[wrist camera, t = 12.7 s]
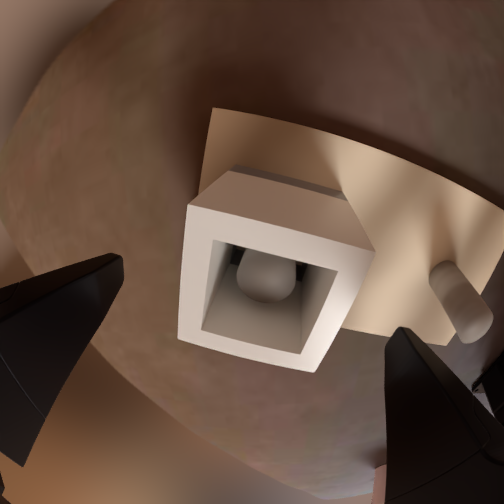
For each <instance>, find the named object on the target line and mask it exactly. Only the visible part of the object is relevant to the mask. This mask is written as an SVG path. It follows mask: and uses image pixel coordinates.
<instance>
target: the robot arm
mask: <svg viewBox="0 0 504 504" xmlns="http://www.w3.org/2000/svg"><path fill="white" fill-rule="evenodd" d="M123 281H124V268H123V258H122V257H121V256H120V255H117V254H114V253H108V254H105V255H101V256H98V257H95V258H91V259H88V260H85V261H82V262H78V263H75V264H72V265H69V266H66V267H62V268H59V269H56V270H53V271H50V272H47V273H44V274H41V275H38V276H35V277H32V278H30V279H26V280H23V281H21V282H20V283H19V282H17V283H14V284H11V285H9V286H6V287H3V288H0V452H2V453H3V454H4V455H6V456H7V457H9V458H10V459H11V460H12V461H14V462H15V463H17V464H18V465H20V466H21V467H23V466H24V465H25V463H26V460H27V457H28V456H29V453H30V451H31V449H32V446H33V444H34V442H35V440H36V438H37V436H38V434H39V432H40V429H41V427H42V426H43V424H44V422H45V418H46V417H47V415H48V413H49V411H50V410H51V408H52V405H53V404H54V402H55V400H56V398H57V396H58V394H59V393H60V391H61V389H62V387H63V385H64V384H65V382H66V380H67V378H68V377H69V375H70V373H71V371H72V370H73V368H74V366H75V365H76V363H77V361H78V360H79V358H80V356H81V355H82V353H83V351H84V350H85V348H86V347H87V345H88V343H89V342H90V340H91V339H92V337H93V336H94V334H95V332H96V331H97V329H98V328H99V326H100V325H101V323H102V321H103V320H104V318H105V316H106V314H107V312H108V311H109V309H110V307H111V305H112V303H113V301H114V299H115V297H116V295H117V293H118V292H119V290H120V288H121V286H122V284H123ZM384 391H385V409H386V437H387V460H386V487H385V502H384V504H504V352H503V354H502V355H501V356H500V357H499V359H498V360H497V361H496V362H495V363H494V365H493V366H492V367H491V368H490V369H489V370H488V372H487V373H486V374H485V375H484V376H483V377H482V378H481V379H480V380H479V382H478V383H477V384H476V385H475V386H474V387H473V388H472V392H473V393H485V394H486V397H487V399H488V402H489V405H490V407H491V410H492V413H493V414H494V416H493V415H492V414H491V413H490V412H489V411H488V410H487V409H486V408H485V407H484V406H483V405H482V404H481V402H480V401H479V400H478V399H477V398H476V397H475V396H474V395H473V394H472V392H471V391H470V390H469V389H468V388H467V387H466V386H465V385H464V384H463V382H462V381H461V380H460V379H459V378H458V377H457V376H456V375H455V374H454V373H453V372H452V371H451V370H450V368H449V367H448V366H447V365H446V364H445V363H444V362H443V361H442V360H441V359H440V358H439V357H438V356H437V355H436V354H435V353H434V352H433V351H432V350H431V349H430V348H429V347H428V346H427V345H426V344H425V343H424V342H423V341H422V340H421V339H420V338H419V337H418V336H417V335H416V334H415V333H414V332H413V331H412V330H411V329H410V328H408V327H402V326H399V327H398V328H397V329H396V330H395V331H394V333H393V335H392V336H391V338H390V339H389V341H388V342H387V344H386V346H385V381H384ZM494 417H495V418H494ZM4 488H5V487H4V484H3V480H2V477H1V473H0V504H11V503H10V502H8V501H7V500H6V499H5V498H4V497H3V496H2V493H3V491H4Z"/></svg>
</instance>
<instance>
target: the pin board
mask: <svg viewBox="0 0 504 504" xmlns="http://www.w3.org/2000/svg"><path fill="white" fill-rule="evenodd" d="M234 165H241V166H245V167H250V168H254V169H259V170H263V171H267V172H271V173H275V174H280V175H284V176H287V177H291V178H295V179H299V180H303V181H306V182H310V183H314V184H317V185H321V186H324V187H328V188H331V189H335V190H338V191H341V192H343V193H344V195H345V196H346V198H347V200H348V202H349V203H350V205H351V207H352V209H353V210H354V212H355V214H356V216H357V217H358V219H359V221H360V223H361V225H362V227H363V228H364V230H365V232H366V234H367V236H368V238H369V240H370V242H371V244H372V245H373V247H374V249H375V251H376V254H375V256H374V259H373V261H372V263H371V266H370V268H369V270H368V272H367V274H366V277H365V279H364V281H363V283H362V285H361V287H360V289H359V291H358V293H357V295H356V298H355V300H354V302H353V304H352V306H351V308H350V309H349V311H348V313H347V315H346V317H345V319H344V321H343V323H342V325H341V328H346V329H351V330H356V331H361V332H366V333H371V334H377V335H382V336H388V337H391V336H392V335H393V333H394V331H395V330H396V329H397V328H398V327H399V326H402V327H408V328H410V329H411V330H412V331H413V332H414V333H415V334H416V335H417V336H418V337H419V338H420V339H421V340H422V341H423V342H424V343H431V344H438V345H445V346H446V345H447V344H448V342H449V341H450V340H451V338H452V337H453V336H454V334H455V333H456V332H457V334H458V336H459V338H460V340H461V341H462V342H463V343H472V342H474V341H476V340H478V339H480V338H481V337H482V336H483V335H484V334H485V333H486V332H487V331H488V330H489V328H490V326H491V324H492V322H493V313H492V312H491V310H490V309H489V307H488V306H487V305H486V303H485V302H484V300H483V299H482V298H481V296H480V294H481V293H482V291H483V289H484V287H485V286H486V284H487V282H488V280H489V278H490V277H491V275H492V273H493V271H494V269H495V267H496V265H497V263H498V261H499V259H500V257H501V255H502V253H503V251H504V210H502V209H501V208H499V207H497V206H496V205H494V204H492V203H491V202H489V201H487V200H486V199H484V198H482V197H480V196H479V195H477V194H475V193H473V192H471V191H470V190H468V189H466V188H464V187H462V186H460V185H458V184H456V183H454V182H452V181H450V180H448V179H446V178H444V177H442V176H440V175H438V174H436V173H434V172H432V171H430V170H427V169H425V168H423V167H421V166H418V165H416V164H414V163H411V162H409V161H407V160H404V159H402V158H399V157H397V156H394V155H392V154H389V153H387V152H384V151H382V150H379V149H376V148H373V147H371V146H368V145H365V144H362V143H359V142H356V141H353V140H350V139H347V138H344V137H341V136H338V135H335V134H331V133H328V132H325V131H321V130H318V129H314V128H310V127H307V126H303V125H299V124H295V123H291V122H287V121H283V120H278V119H274V118H269V117H265V116H260V115H255V114H250V113H244V112H239V111H233V110H227V109H221V108H213V109H212V114H211V120H210V125H209V130H208V136H207V142H206V148H205V153H204V160H203V166H202V172H201V179H200V186H199V193H198V195H199V194H200V193H201V192H203V191H204V190H205V189H206V188H207V187H209V186H210V185H211V184H212V183H213V182H215V181H216V180H217V179H218V178H219V177H221V176H222V175H223V174H224V173H226V172H227V171H228V170H229V169H231V168H232V167H233V166H234ZM236 249H238V250H242V251H245V252H244V254H243V257H242V260H241V262H240V265H239V267H238V270H237V283H238V286H239V288H240V289H241V291H242V292H243V293H244V294H245V295H246V296H247V297H249V298H251V299H252V300H255V301H257V302H261V303H275V302H279V301H281V300H283V299H285V298H286V297H288V296H289V295H290V294H291V292H292V291H293V289H294V287H295V282H296V264H298V265H301V266H302V263H303V262H301V261H297V260H293V259H289V258H285V257H281V256H277V255H273V254H269V253H265V252H261V251H257V250H253V249H250V248H246V247H242V246H238V245H237V248H236Z"/></svg>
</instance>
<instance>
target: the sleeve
mask: <svg viewBox="0 0 504 504" xmlns="http://www.w3.org/2000/svg"><path fill="white" fill-rule="evenodd" d="M237 245H238V246H242V247H246V248H250V249H253V250H257V251H261V252H265V253H269V254H273V255H277V256H281V257H285V258H289V259H293V260H297V261H301V262H303V263H302V266H301V265H298V264H296V282H295V287H294V289H293V291H292V292H291V294H290V295H289V296H288V297H286V298H285V299H283V300H281V301H279V302H275V303H261V302H257V301H255V300H252V299H251V298H249V297H247V296H246V295H245V294H244V293H243V292H242V291H241V289H240V288H239V286H238V283H237V270H238V267H239V265H240V262H241V260H242V257H243V254H244V252H245V251H242V250H238V249H236V248H237ZM375 254H376V251H375V249H374V247H373V245H372V244H371V242H370V240H369V238H368V236H367V234H366V232H365V230H364V228H363V227H362V225H361V223H360V221H359V219H358V217H357V216H356V214H355V212H354V210H353V209H352V207H351V205H350V203H349V202H348V200H347V198H346V196H345V195H344V193H343V192H341V191H338V190H335V189H331V188H328V187H324V186H321V185H317V184H314V183H310V182H306V181H303V180H299V179H295V178H291V177H287V176H284V175H280V174H275V173H271V172H267V171H263V170H259V169H254V168H250V167H245V166H241V165H234V166H233V167H232V168H231V169H229V170H228V171H227V172H226V173H224V174H223V175H222V176H221V177H219V178H218V179H217V180H216V181H215V182H213V183H212V184H211V185H210V186H209V187H207V188H206V189H205V190H204V191H203V192H201V193H200V194H199V195H198V196H197V197H196V198H194V199H193V200H192V201H191V202H190V203H189V204H188V206H187V215H186V224H185V234H184V244H183V256H182V268H181V282H180V298H179V317H178V339H180V340H183V341H186V342H189V343H193V344H196V345H199V346H203V347H206V348H210V349H213V350H217V351H220V352H224V353H228V354H232V355H235V356H239V357H243V358H247V359H251V360H256V361H260V362H264V363H269V364H273V365H278V366H283V367H287V368H292V369H297V370H303V371H308V372H315V371H316V369H317V367H318V366H319V364H320V362H321V361H322V359H323V357H324V355H325V354H326V352H327V350H328V348H329V347H330V345H331V343H332V341H333V340H334V338H335V336H336V334H337V332H338V330H339V329H340V327H341V325H342V323H343V321H344V319H345V317H346V315H347V313H348V311H349V309H350V308H351V306H352V304H353V302H354V300H355V298H356V295H357V293H358V291H359V289H360V287H361V285H362V283H363V281H364V279H365V277H366V274H367V272H368V270H369V268H370V266H371V263H372V261H373V259H374V256H375Z"/></svg>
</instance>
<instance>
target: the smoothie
mask: <svg viewBox="0 0 504 504" xmlns="http://www.w3.org/2000/svg"><path fill="white" fill-rule="evenodd" d="M385 487H386V465H382V466H379V467H377V468H376V469H375V477H374V487H373V496H372V503H371V504H384V502H385Z"/></svg>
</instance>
